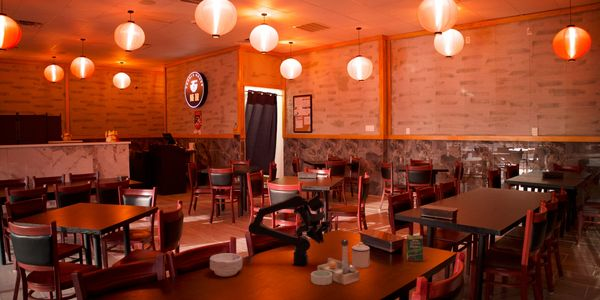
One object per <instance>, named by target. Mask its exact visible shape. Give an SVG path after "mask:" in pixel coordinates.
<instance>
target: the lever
mask: <svg viewBox="0 0 600 300" xmlns="http://www.w3.org/2000/svg"><path fill="white" fill-rule="evenodd" d="M340 244H341V260H338V259H335V258H333V257H327V263H328V264H329V262H330V261H335V262H336V266H337V267H340V268H342V273H344V274H346V273H348V272H355V270H356V267H355V265H354V264H352V263H348V262H349V261H348V259H349V258H348V254H349V253H348V249H349V248H348V245H349V241H348V239H346V238H343V239H342V240H341V241H340Z"/></svg>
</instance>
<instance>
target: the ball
mask: <svg viewBox="0 0 600 300" xmlns="http://www.w3.org/2000/svg"><path fill="white" fill-rule="evenodd" d="M329 267H330V268H332V269H333V268H335V267H336V262H335V261H330V262H329Z"/></svg>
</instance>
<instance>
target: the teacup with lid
mask: <svg viewBox="0 0 600 300" xmlns="http://www.w3.org/2000/svg"><path fill="white" fill-rule="evenodd" d="M370 250H371V248H370V247H369V246H368V245H366V244H364V242H362V241H359V242H358V243H357V244H355V245H353V246H352V247H351V264H354V265H355V268H357V269H365V268H369V267H370V265H371V263H370V259H371V258H370V257H371V256H370V252H371V251H370Z"/></svg>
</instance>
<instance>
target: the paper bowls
mask: <svg viewBox="0 0 600 300" xmlns="http://www.w3.org/2000/svg"><path fill="white" fill-rule="evenodd" d="M209 268H210V270H211V271H214V274H215V275H217V276H219V277H231V276H234V275H236V274H237V273H238V271H240V270H241V269H242V268H243V257H242V255H241V254H237V253H232V252H231V253H230V252H229V253H228V252H227V253H225V252H224V253H218V254H213V255H211V256H210V258H209Z"/></svg>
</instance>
